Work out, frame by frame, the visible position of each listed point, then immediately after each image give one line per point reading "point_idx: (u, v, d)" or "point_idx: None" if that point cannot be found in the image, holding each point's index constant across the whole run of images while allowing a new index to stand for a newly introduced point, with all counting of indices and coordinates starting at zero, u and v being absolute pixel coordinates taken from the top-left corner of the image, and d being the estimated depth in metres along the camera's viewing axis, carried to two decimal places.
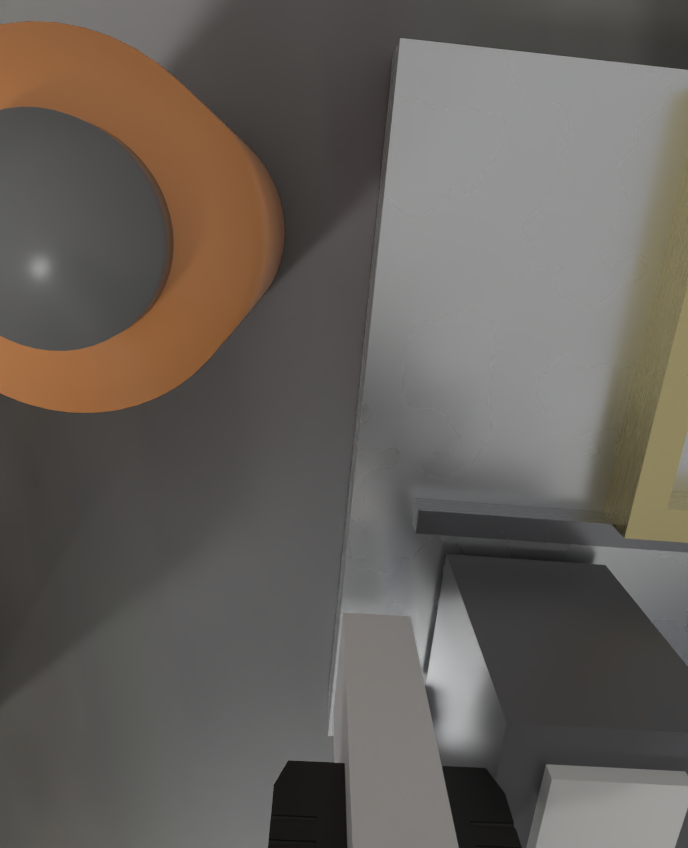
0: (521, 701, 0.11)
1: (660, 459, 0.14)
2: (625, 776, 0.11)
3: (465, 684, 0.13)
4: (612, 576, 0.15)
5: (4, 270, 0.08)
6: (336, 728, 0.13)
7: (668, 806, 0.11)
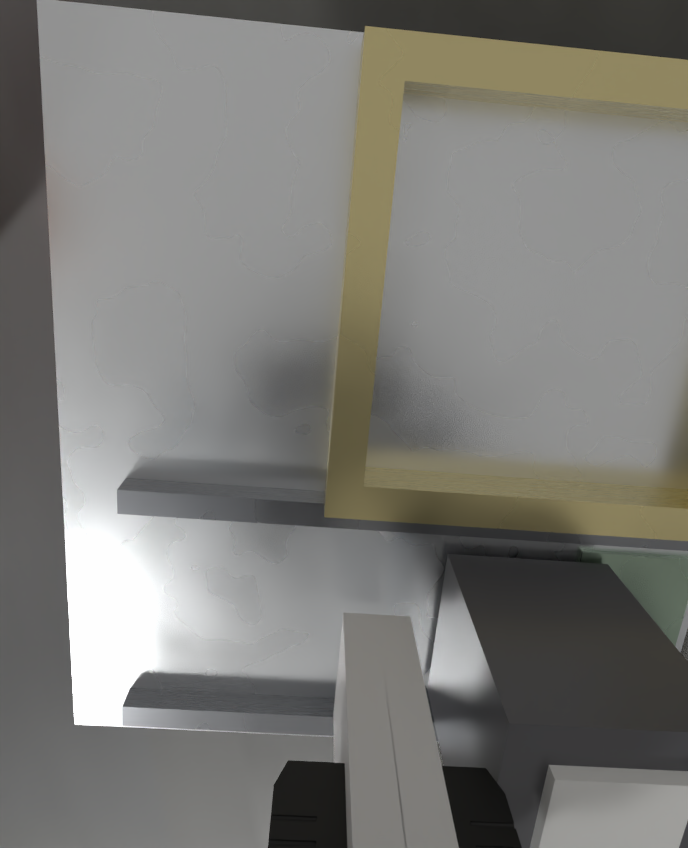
0: (523, 701, 0.11)
1: (348, 435, 0.14)
2: (628, 776, 0.10)
3: (467, 685, 0.13)
4: (614, 575, 0.15)
5: None
6: (336, 728, 0.13)
7: (671, 805, 0.11)
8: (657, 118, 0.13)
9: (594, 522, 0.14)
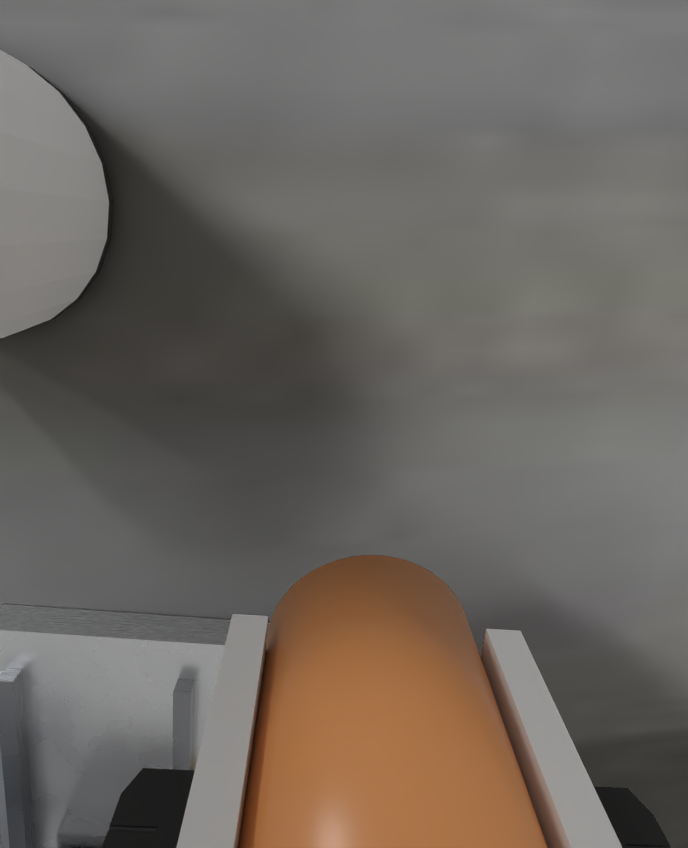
0: None
1: None
2: None
3: None
4: None
5: None
6: None
7: None
8: None
9: None
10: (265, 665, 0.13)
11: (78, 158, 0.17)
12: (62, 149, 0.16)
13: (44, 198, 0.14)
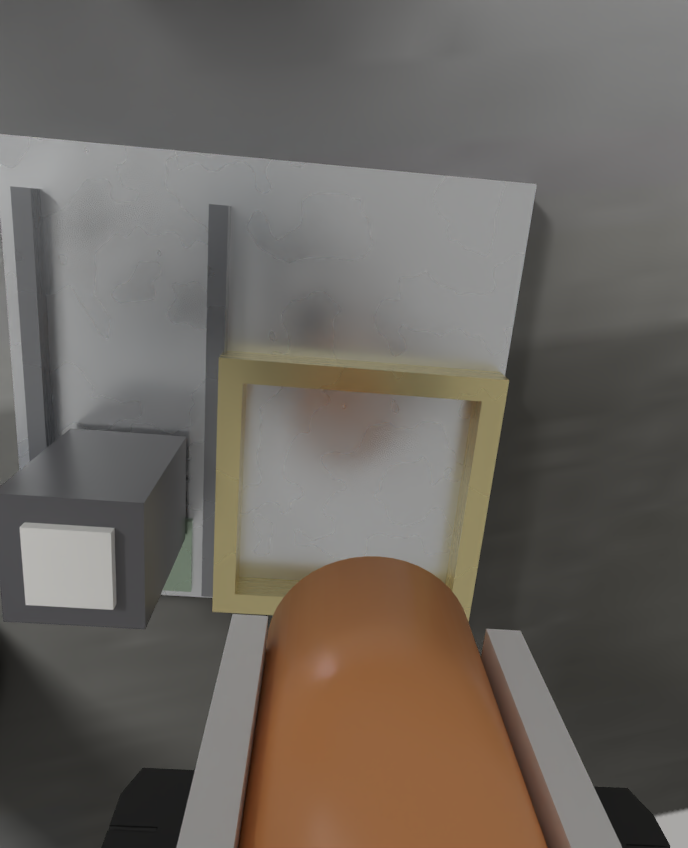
0: (148, 508, 0.18)
1: (278, 373, 0.21)
2: (113, 572, 0.18)
3: (123, 467, 0.19)
4: (182, 543, 0.23)
5: None
6: None
7: (97, 598, 0.18)
8: (454, 527, 0.24)
9: (223, 527, 0.23)
10: (265, 667, 0.13)
11: None
12: None
13: None
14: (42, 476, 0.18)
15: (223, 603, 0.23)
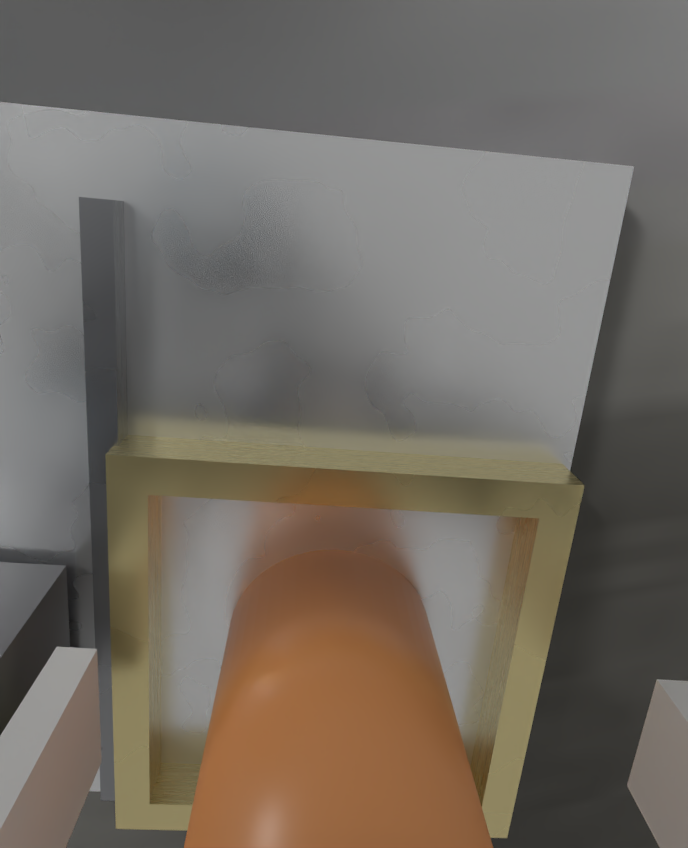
0: None
1: (207, 478, 0.13)
2: None
3: None
4: None
5: None
6: None
7: None
8: (486, 690, 0.16)
9: (126, 711, 0.14)
10: (224, 658, 0.13)
11: None
12: None
13: None
14: None
15: (133, 817, 0.15)
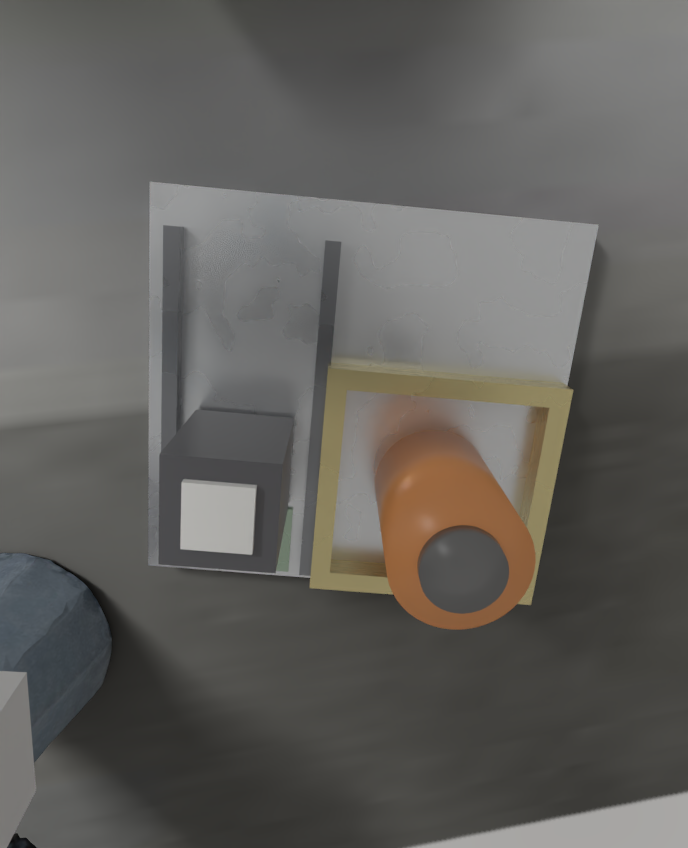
0: (283, 469, 0.21)
1: (377, 381, 0.25)
2: (254, 522, 0.21)
3: (254, 438, 0.23)
4: (286, 511, 0.27)
5: (452, 560, 0.20)
6: None
7: (239, 544, 0.21)
8: None
9: (323, 513, 0.26)
10: (381, 479, 0.25)
11: None
12: None
13: None
14: (192, 443, 0.22)
15: (319, 581, 0.27)
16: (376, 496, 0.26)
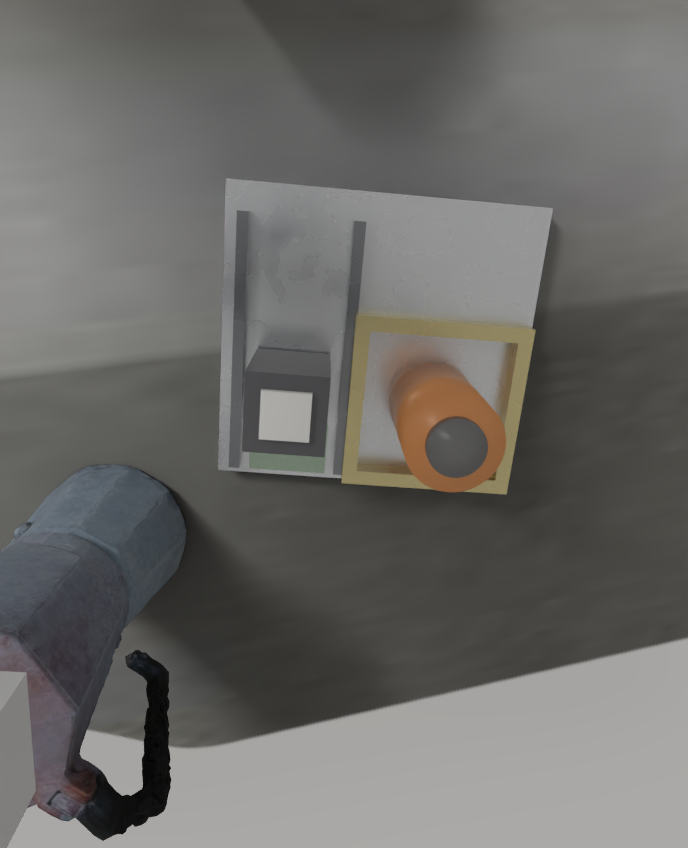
0: None
1: (392, 324, 0.34)
2: None
3: (305, 364, 0.32)
4: None
5: (449, 438, 0.29)
6: None
7: (300, 435, 0.30)
8: None
9: (352, 425, 0.35)
10: (395, 397, 0.34)
11: None
12: None
13: None
14: (264, 366, 0.31)
15: (349, 477, 0.36)
16: (391, 411, 0.35)
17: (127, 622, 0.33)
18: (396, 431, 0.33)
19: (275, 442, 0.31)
